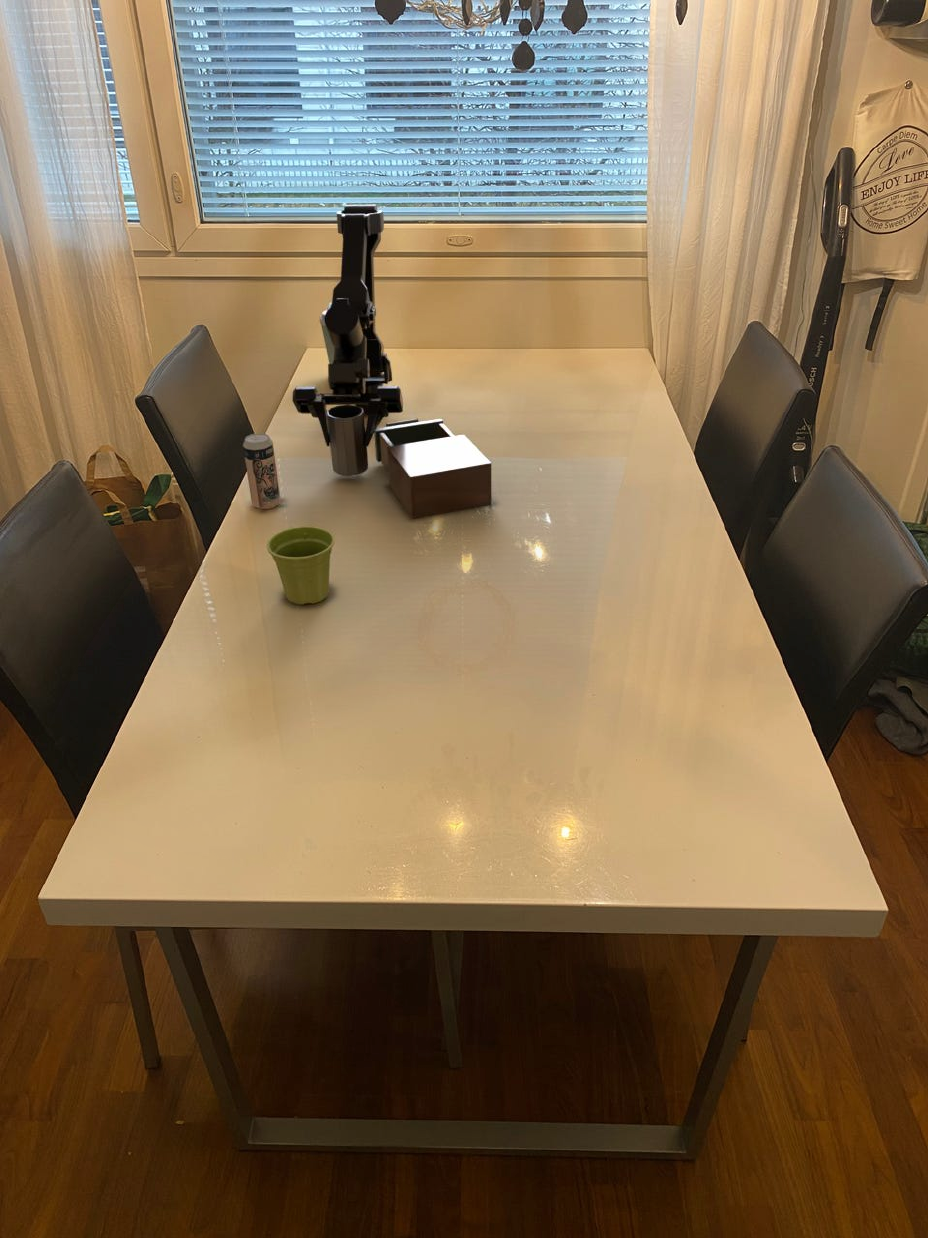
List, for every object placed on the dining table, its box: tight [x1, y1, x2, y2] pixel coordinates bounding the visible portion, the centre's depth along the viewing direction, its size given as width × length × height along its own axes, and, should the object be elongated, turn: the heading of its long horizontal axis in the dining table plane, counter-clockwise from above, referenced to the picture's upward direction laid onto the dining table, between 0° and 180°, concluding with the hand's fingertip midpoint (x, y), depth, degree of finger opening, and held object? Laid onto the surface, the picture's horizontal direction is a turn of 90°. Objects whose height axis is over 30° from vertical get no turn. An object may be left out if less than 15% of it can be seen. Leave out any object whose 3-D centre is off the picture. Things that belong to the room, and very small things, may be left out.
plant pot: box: [266, 525, 335, 606], centre depth 136 cm, size 9×9×9 cm
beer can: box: [242, 432, 281, 510], centre depth 159 cm, size 5×5×12 cm
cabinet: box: [387, 434, 492, 519], centre depth 162 cm, size 13×14×8 cm
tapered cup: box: [327, 405, 369, 477], centre depth 168 cm, size 6×6×11 cm
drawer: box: [373, 418, 455, 474], centre depth 173 cm, size 16×13×6 cm
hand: (347, 445), depth 167 cm, fingers closed on tapered cup, 6 cm apart
